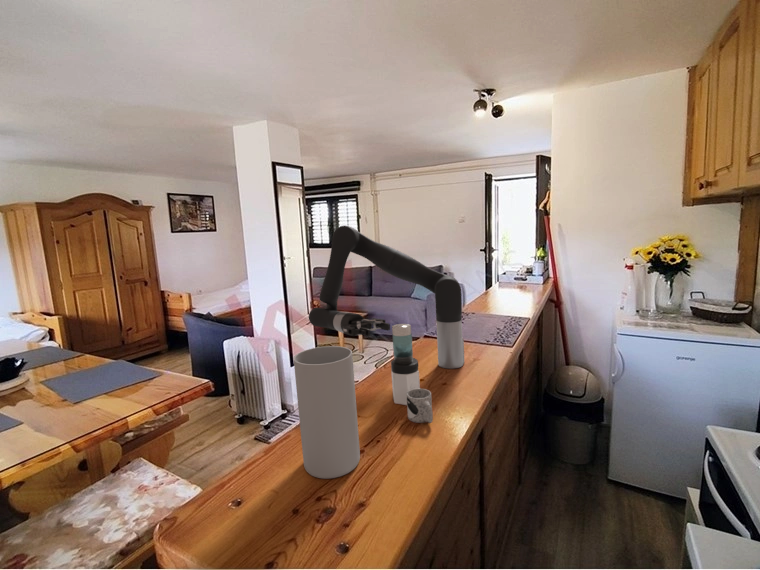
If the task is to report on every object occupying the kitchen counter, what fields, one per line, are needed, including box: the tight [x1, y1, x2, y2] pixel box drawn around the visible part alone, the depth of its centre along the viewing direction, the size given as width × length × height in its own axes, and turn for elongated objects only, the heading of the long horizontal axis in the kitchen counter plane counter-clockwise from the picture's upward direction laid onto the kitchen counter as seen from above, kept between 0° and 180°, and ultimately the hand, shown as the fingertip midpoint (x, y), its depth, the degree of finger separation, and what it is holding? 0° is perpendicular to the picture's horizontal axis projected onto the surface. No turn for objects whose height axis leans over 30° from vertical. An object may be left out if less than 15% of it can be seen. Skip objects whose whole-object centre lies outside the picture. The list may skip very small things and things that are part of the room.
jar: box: [390, 357, 421, 406], centre depth 112 cm, size 9×8×12 cm
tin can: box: [391, 323, 414, 365], centre depth 111 cm, size 6×6×11 cm
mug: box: [406, 388, 434, 424], centre depth 99 cm, size 10×7×7 cm, turn 21°
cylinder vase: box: [293, 345, 361, 480], centre depth 82 cm, size 12×12×25 cm
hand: (379, 329), depth 118 cm, fingers open, 8 cm apart
